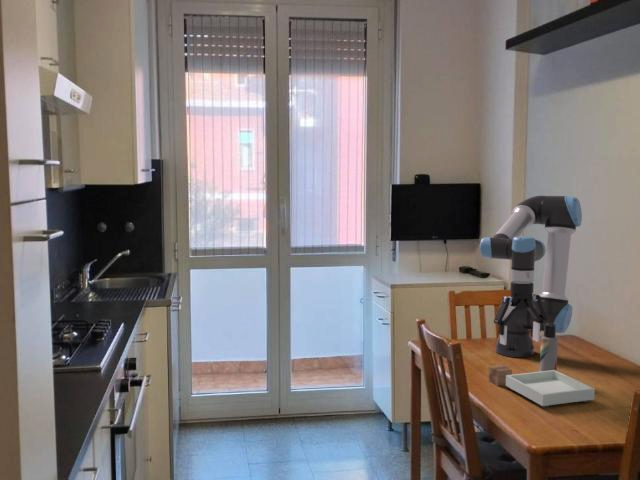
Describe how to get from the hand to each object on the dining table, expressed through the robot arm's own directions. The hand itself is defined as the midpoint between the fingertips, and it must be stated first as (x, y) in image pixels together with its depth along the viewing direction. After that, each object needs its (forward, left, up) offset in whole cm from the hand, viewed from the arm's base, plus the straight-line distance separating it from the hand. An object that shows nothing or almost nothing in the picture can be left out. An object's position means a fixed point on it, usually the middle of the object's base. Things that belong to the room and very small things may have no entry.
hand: (519, 342), depth 225 cm
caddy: (+13, +3, -15) cm, 20 cm away
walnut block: (-3, -5, -15) cm, 16 cm away
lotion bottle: (-2, +14, -15) cm, 20 cm away
